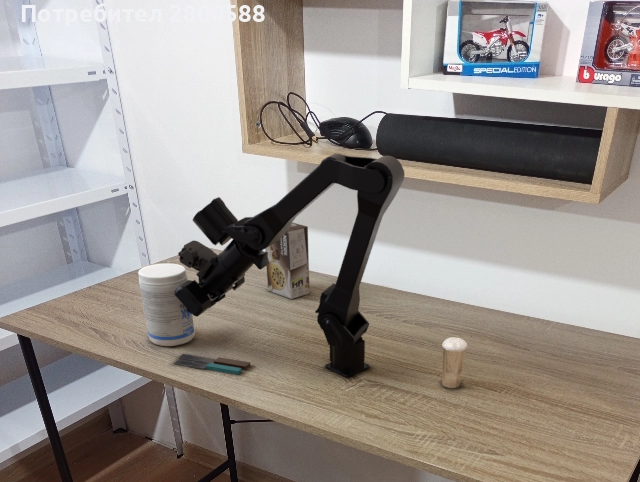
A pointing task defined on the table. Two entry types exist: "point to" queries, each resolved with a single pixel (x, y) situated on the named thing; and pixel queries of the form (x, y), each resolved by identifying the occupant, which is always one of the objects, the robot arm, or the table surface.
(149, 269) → the supplement tub
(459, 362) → the milkshake
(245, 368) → the knife
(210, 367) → the fork
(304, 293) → the coffee box
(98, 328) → the table surface
